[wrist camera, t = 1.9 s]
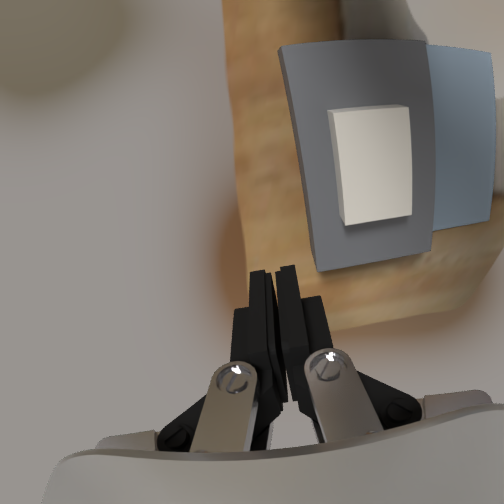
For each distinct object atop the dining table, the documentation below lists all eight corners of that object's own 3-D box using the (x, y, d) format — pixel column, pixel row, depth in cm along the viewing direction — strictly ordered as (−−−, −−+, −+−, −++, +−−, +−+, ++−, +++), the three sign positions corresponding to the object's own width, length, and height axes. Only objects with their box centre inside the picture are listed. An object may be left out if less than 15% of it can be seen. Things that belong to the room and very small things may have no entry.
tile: (327, 110, 22) (333, 113, 20) (397, 104, 21) (408, 107, 19) (339, 215, 26) (345, 225, 24) (402, 205, 25) (411, 214, 24)
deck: (277, 51, 22) (281, 46, 19) (404, 43, 21) (425, 40, 18) (311, 250, 33) (317, 272, 29) (415, 232, 31) (430, 250, 28)
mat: (404, 43, 21) (406, 43, 21) (488, 52, 20) (490, 52, 20) (415, 232, 31) (416, 233, 31) (487, 219, 30) (489, 220, 30)
